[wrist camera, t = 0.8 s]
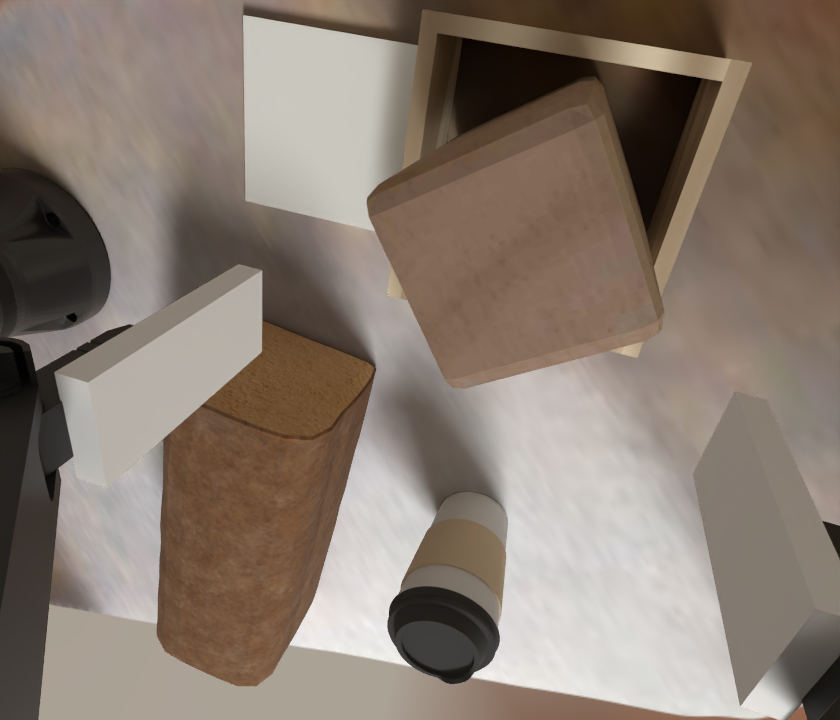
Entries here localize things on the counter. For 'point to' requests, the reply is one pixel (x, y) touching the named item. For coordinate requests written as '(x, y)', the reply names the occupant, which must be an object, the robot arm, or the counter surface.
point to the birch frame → (709, 105)
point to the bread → (256, 504)
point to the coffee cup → (453, 591)
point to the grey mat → (322, 117)
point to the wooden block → (523, 240)
